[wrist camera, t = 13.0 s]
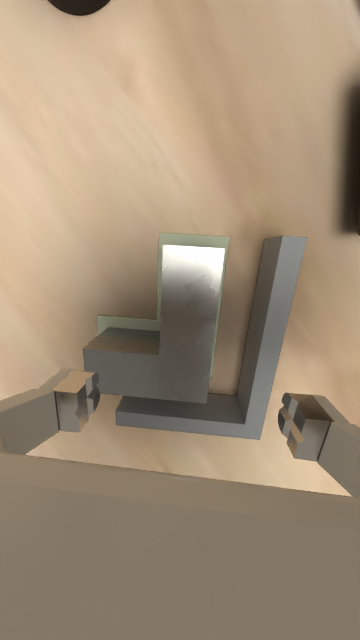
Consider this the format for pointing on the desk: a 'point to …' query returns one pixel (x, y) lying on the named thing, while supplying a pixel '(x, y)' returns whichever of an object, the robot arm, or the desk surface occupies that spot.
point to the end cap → (359, 222)
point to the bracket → (166, 334)
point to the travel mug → (79, 6)
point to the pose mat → (152, 324)
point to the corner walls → (257, 368)
